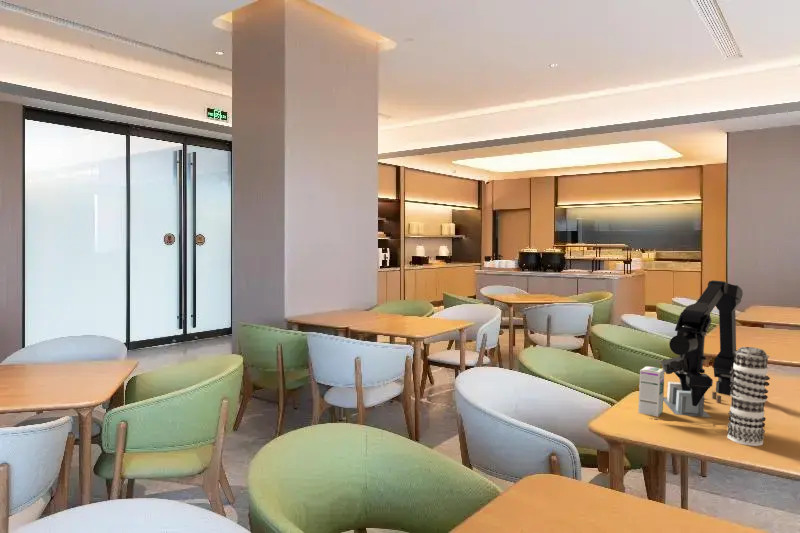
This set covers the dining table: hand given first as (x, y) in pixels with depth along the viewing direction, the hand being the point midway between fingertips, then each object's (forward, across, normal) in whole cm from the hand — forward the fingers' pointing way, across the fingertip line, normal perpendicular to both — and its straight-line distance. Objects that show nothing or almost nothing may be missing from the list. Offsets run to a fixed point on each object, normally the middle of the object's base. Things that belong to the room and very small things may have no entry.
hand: (689, 401), depth 173 cm
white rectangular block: (+3, -10, 0) cm, 10 cm away
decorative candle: (+5, +18, +9) cm, 21 cm away
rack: (+4, -5, 0) cm, 7 cm away
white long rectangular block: (+3, 0, 0) cm, 3 cm away
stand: (+4, -15, +10) cm, 19 cm away
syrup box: (+5, +4, -12) cm, 13 cm away
